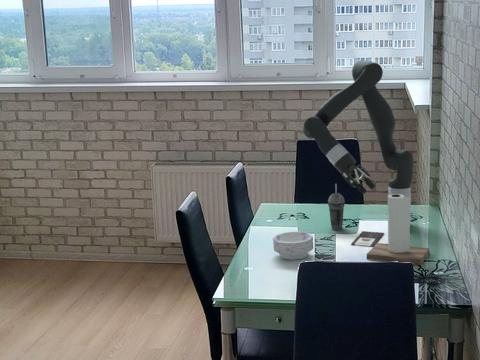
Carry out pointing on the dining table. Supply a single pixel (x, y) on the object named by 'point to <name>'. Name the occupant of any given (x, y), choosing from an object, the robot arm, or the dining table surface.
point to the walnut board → (398, 254)
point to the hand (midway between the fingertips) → (369, 190)
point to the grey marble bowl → (293, 244)
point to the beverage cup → (336, 210)
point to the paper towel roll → (398, 223)
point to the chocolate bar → (367, 239)
